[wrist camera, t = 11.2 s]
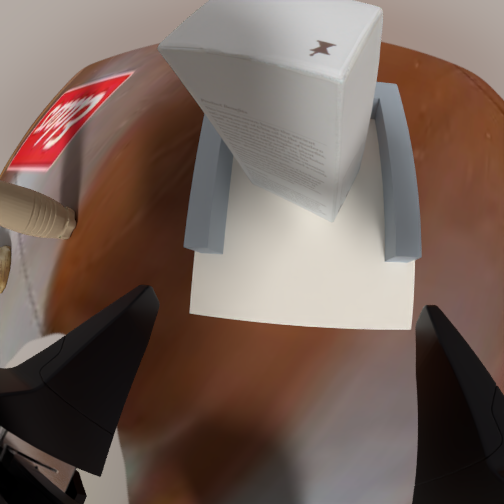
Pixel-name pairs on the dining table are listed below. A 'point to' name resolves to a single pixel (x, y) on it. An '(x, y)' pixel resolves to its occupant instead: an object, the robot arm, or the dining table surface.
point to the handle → (34, 213)
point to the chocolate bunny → (4, 266)
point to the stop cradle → (309, 238)
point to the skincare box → (285, 89)
